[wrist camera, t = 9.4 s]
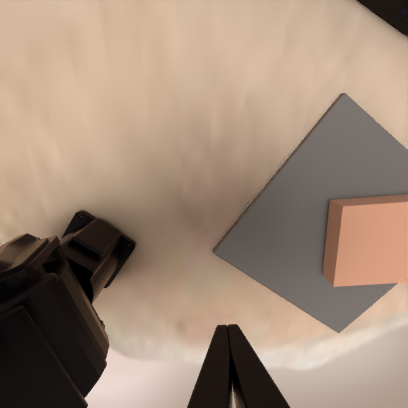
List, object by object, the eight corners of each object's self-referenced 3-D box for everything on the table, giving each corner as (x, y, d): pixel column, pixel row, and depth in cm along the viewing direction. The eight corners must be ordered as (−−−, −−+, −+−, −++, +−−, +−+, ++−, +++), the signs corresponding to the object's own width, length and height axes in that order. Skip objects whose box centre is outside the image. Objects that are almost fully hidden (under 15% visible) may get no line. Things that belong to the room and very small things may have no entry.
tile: (333, 286, 20) (431, 280, 20) (343, 206, 18) (454, 198, 18) (321, 272, 22) (409, 266, 22) (328, 198, 20) (427, 191, 20)
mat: (336, 329, 25) (338, 333, 25) (212, 250, 22) (213, 252, 22) (472, 212, 21) (478, 214, 20) (341, 93, 18) (344, 92, 17)
